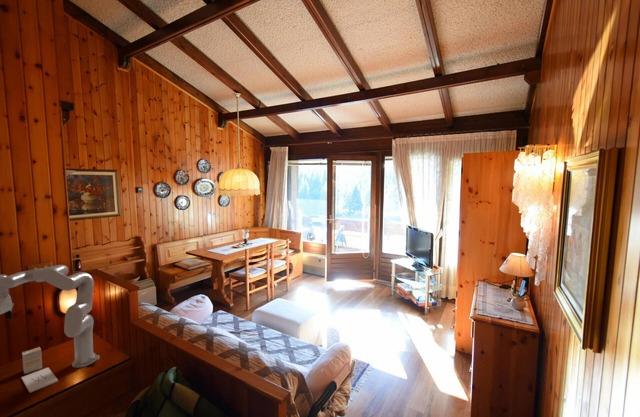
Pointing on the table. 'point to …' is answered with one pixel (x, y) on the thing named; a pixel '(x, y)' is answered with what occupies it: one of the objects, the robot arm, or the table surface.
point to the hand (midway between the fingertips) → (1, 321)
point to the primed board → (39, 379)
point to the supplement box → (32, 360)
